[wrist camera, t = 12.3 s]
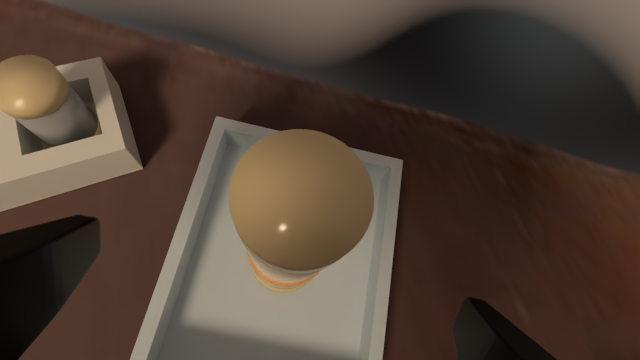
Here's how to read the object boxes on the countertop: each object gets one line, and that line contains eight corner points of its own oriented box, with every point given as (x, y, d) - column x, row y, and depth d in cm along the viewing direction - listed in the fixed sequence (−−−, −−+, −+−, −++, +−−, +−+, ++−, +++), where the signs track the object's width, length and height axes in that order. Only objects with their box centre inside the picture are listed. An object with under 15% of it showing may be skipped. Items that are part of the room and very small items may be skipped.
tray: (360, 410, 16) (375, 426, 14) (144, 369, 15) (122, 379, 13) (388, 177, 21) (403, 160, 18) (222, 138, 20) (216, 116, 18)
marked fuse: (254, 298, 16) (235, 280, 7) (246, 229, 17) (222, 135, 8) (323, 286, 17) (389, 254, 8) (312, 219, 18) (357, 123, 9)
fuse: (72, 167, 18) (11, 121, 14) (38, 135, 18) (-32, 80, 14) (116, 133, 19) (72, 81, 14) (83, 104, 19) (30, 44, 15)
